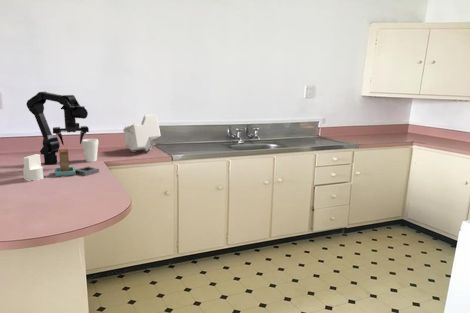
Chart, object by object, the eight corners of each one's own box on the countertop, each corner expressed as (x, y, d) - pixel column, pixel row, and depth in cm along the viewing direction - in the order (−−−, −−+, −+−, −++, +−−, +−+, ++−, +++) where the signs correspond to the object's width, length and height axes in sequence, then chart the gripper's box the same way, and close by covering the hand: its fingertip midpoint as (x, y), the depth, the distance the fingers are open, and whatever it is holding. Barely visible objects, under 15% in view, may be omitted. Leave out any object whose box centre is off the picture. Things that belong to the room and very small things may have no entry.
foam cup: (88, 163, 234) (87, 142, 231) (80, 160, 239) (78, 140, 237) (102, 160, 241) (101, 140, 239) (93, 158, 247) (92, 138, 244)
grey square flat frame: (74, 173, 211) (74, 169, 211) (88, 169, 219) (88, 166, 218) (85, 175, 207) (85, 172, 206) (99, 172, 214) (99, 168, 214)
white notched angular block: (136, 152, 254) (129, 115, 255) (126, 156, 266) (119, 120, 267) (163, 149, 267) (156, 114, 269) (152, 153, 279) (146, 119, 280)
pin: (60, 172, 209) (58, 148, 206) (67, 171, 211) (65, 148, 208) (62, 173, 206) (60, 150, 203) (69, 172, 209) (67, 149, 206)
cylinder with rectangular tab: (35, 181, 194) (33, 158, 191) (19, 180, 196) (17, 157, 193) (47, 177, 203) (45, 154, 200) (32, 175, 204) (30, 153, 202)
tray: (55, 177, 202) (54, 172, 202) (54, 172, 211) (54, 168, 211) (75, 175, 207) (75, 171, 206) (74, 171, 216) (74, 166, 215)
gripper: (51, 119, 208) (54, 148, 211) (88, 118, 216) (90, 146, 219) (51, 117, 218) (53, 144, 221) (87, 116, 225) (88, 142, 229)
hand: (71, 144), depth 222 cm, fingers open, 9 cm apart
